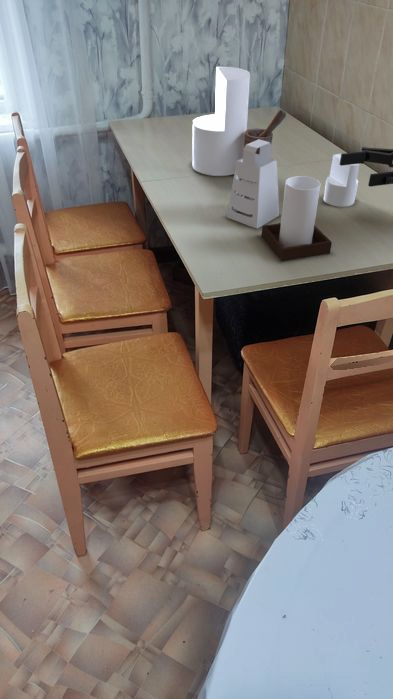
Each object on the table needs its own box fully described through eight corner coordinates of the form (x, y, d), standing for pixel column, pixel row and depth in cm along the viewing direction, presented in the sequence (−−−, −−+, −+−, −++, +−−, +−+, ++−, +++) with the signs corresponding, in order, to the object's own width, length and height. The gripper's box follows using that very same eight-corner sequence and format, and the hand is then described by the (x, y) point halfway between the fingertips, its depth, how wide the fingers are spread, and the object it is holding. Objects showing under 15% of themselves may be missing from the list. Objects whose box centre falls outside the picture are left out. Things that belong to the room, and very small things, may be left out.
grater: (226, 217, 150) (229, 144, 138) (248, 204, 157) (253, 133, 144) (256, 228, 145) (262, 154, 132) (279, 215, 151) (286, 143, 138)
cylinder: (238, 155, 187) (243, 65, 169) (249, 174, 174) (255, 79, 156) (189, 157, 185) (188, 67, 167) (195, 177, 172) (196, 81, 154)
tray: (306, 230, 145) (308, 218, 142) (329, 253, 135) (332, 242, 133) (261, 236, 142) (262, 225, 140) (281, 261, 132) (282, 249, 130)
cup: (275, 236, 141) (282, 176, 131) (306, 234, 141) (315, 175, 131) (282, 252, 134) (290, 190, 124) (315, 250, 135) (325, 189, 125)
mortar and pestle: (272, 167, 179) (278, 103, 166) (282, 177, 172) (289, 111, 159) (238, 170, 176) (242, 106, 163) (247, 181, 170) (252, 114, 157)
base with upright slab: (360, 203, 158) (369, 162, 150) (334, 208, 155) (341, 167, 147) (342, 191, 164) (350, 152, 156) (317, 196, 161) (323, 156, 154)
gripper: (458, 195, 128) (379, 205, 123) (398, 158, 146) (327, 166, 141) (469, 163, 123) (387, 173, 118) (405, 129, 141) (332, 137, 136)
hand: (354, 169), depth 130 cm, fingers open, 13 cm apart
